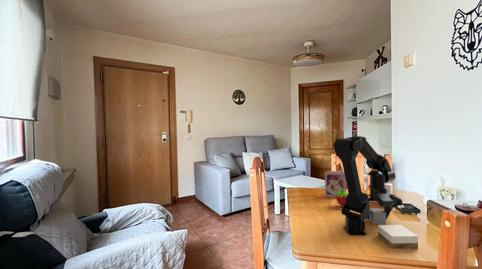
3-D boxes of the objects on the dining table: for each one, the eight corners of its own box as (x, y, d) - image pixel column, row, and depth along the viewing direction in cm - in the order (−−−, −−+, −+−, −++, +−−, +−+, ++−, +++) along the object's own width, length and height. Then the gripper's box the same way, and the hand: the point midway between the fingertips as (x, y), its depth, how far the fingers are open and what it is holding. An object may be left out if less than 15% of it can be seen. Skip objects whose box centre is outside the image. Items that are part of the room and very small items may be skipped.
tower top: (391, 243, 81) (392, 236, 81) (377, 231, 90) (377, 225, 90) (417, 243, 81) (418, 236, 81) (400, 231, 90) (400, 224, 90)
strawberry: (348, 210, 117) (348, 190, 117) (334, 206, 123) (334, 188, 122) (352, 206, 122) (352, 188, 121) (338, 203, 127) (338, 185, 126)
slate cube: (374, 224, 101) (374, 212, 101) (368, 219, 106) (368, 208, 106) (385, 224, 101) (385, 212, 101) (379, 219, 106) (379, 208, 106)
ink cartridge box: (372, 203, 126) (372, 176, 125) (374, 201, 130) (374, 175, 129) (390, 207, 120) (390, 179, 119) (392, 204, 124) (392, 177, 123)
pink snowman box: (324, 196, 139) (324, 172, 138) (325, 193, 146) (325, 169, 145) (345, 198, 134) (345, 173, 134) (345, 195, 141) (345, 170, 140)
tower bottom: (391, 250, 82) (391, 243, 82) (377, 237, 91) (377, 231, 91) (417, 250, 81) (418, 243, 81) (401, 237, 90) (401, 231, 90)
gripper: (364, 190, 95) (364, 227, 96) (411, 190, 94) (410, 227, 95) (352, 183, 106) (352, 216, 107) (394, 182, 105) (394, 216, 106)
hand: (376, 219), depth 104 cm, fingers open, 7 cm apart
